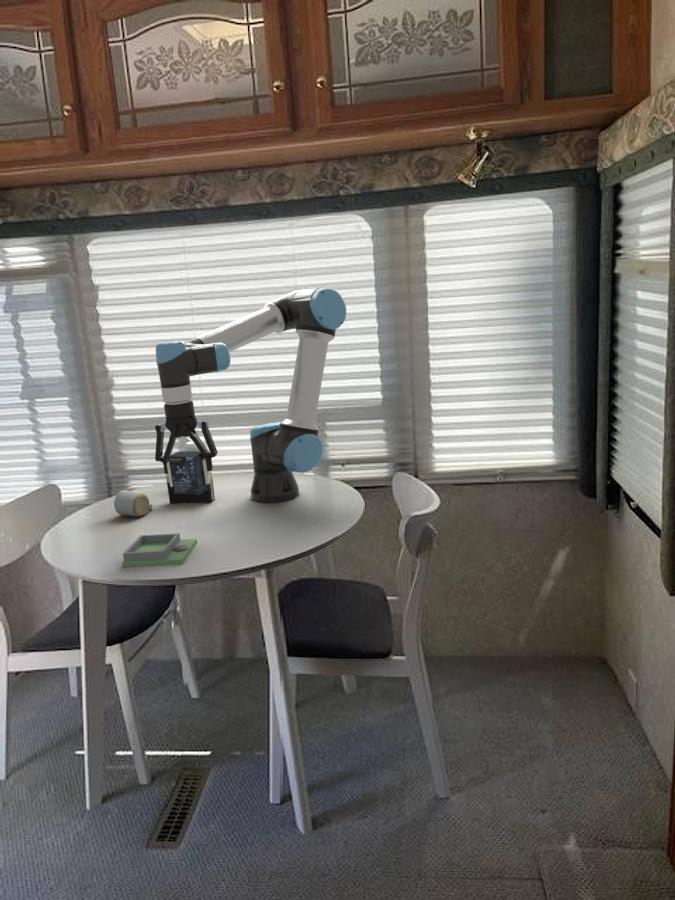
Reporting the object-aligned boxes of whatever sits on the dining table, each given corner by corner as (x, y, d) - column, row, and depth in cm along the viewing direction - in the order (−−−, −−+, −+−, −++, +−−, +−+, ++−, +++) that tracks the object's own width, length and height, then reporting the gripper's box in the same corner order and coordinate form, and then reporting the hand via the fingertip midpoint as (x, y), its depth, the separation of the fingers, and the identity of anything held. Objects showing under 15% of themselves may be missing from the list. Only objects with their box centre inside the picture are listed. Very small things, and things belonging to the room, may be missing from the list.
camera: (219, 495, 224) (216, 465, 222) (211, 503, 216) (207, 473, 214) (178, 496, 227) (175, 467, 224) (168, 504, 219) (164, 474, 216)
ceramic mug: (136, 520, 205) (132, 495, 204) (115, 518, 209) (111, 493, 207) (159, 509, 215) (156, 485, 213) (139, 507, 218) (136, 484, 216)
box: (173, 494, 185) (167, 456, 183) (185, 487, 190) (179, 450, 188) (198, 495, 182) (192, 456, 180) (210, 488, 187) (204, 450, 185)
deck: (197, 542, 183) (195, 531, 182) (182, 564, 169) (180, 551, 169) (141, 545, 184) (140, 534, 183) (122, 566, 171) (121, 554, 170)
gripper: (222, 395, 183) (233, 477, 189) (142, 402, 185) (155, 482, 190) (215, 400, 176) (227, 485, 181) (132, 407, 177) (146, 491, 183)
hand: (190, 483), depth 186 cm, fingers closed on box, 9 cm apart
